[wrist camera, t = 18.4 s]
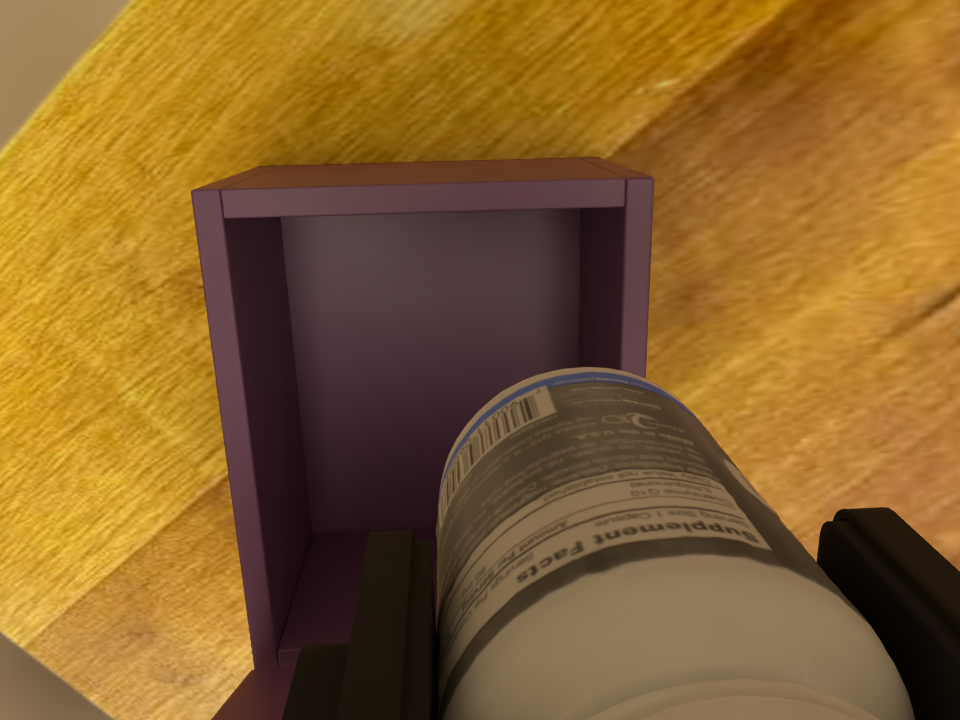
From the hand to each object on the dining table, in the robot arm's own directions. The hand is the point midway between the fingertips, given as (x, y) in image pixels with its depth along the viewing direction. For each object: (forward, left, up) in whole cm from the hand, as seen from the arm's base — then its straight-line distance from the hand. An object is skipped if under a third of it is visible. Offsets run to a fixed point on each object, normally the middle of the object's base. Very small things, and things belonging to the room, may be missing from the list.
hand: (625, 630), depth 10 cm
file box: (+4, -3, -22) cm, 23 cm away
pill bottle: (0, 0, -4) cm, 4 cm away
